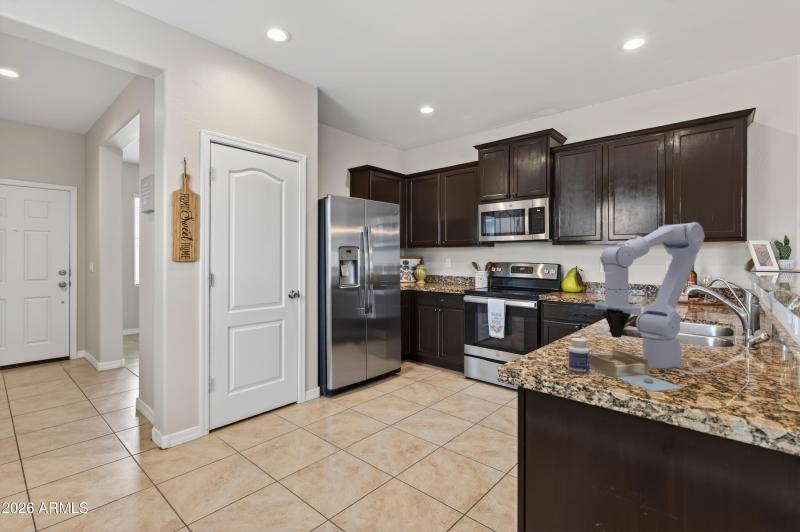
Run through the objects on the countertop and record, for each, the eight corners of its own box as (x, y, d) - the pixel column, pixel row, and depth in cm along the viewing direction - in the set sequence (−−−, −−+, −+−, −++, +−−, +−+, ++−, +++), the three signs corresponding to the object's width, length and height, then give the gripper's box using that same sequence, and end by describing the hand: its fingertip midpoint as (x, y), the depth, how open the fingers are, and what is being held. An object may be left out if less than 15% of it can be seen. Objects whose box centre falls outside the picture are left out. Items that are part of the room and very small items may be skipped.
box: (613, 365, 116) (613, 349, 116) (648, 377, 104) (648, 359, 104) (581, 367, 113) (581, 351, 113) (613, 380, 101) (613, 362, 101)
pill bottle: (592, 377, 104) (592, 341, 104) (570, 376, 105) (570, 341, 105) (586, 371, 109) (586, 337, 109) (566, 370, 110) (566, 337, 110)
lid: (645, 380, 103) (645, 372, 103) (683, 393, 93) (684, 385, 93) (615, 382, 101) (616, 374, 101) (652, 397, 91) (652, 388, 90)
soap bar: (616, 367, 111) (616, 360, 111) (625, 370, 108) (625, 363, 107) (601, 368, 110) (601, 361, 110) (610, 371, 106) (610, 364, 106)
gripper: (586, 287, 114) (586, 332, 114) (625, 291, 100) (625, 343, 100) (606, 287, 116) (606, 331, 116) (647, 290, 102) (647, 341, 102)
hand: (616, 336), depth 108 cm, fingers closed
